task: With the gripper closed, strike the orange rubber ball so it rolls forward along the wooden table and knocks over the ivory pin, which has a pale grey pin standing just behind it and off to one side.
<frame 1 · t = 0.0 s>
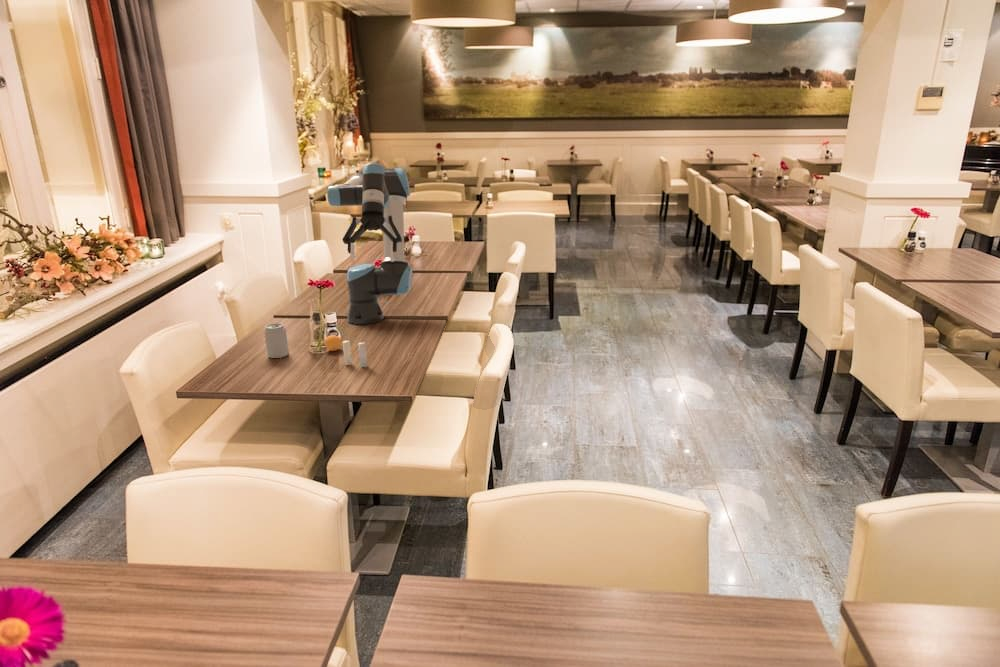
hand: (372, 261, 230), 36 cm above the table, tool tilted 35°, fingers open, 13 cm apart
ball: (333, 342, 251), on the table
pin 2: (363, 366, 235), on the table
can: (278, 356, 248), on the table
pin 1: (348, 364, 238), on the table
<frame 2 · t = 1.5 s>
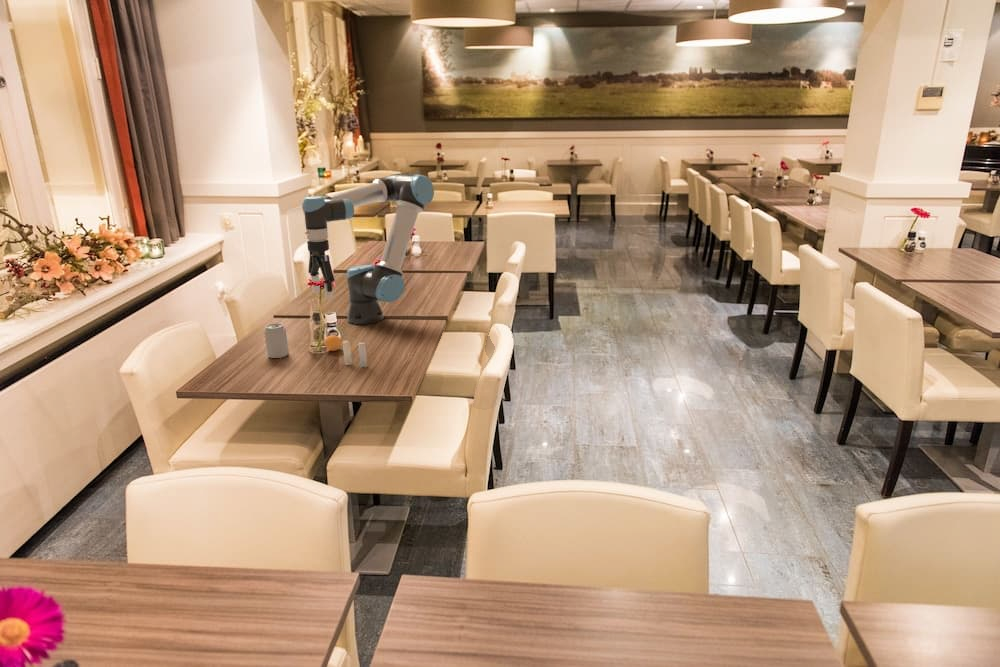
hand: (323, 296, 252), 19 cm above the table, tool pointing down, fingers open, 13 cm apart
nothing on the table moved.
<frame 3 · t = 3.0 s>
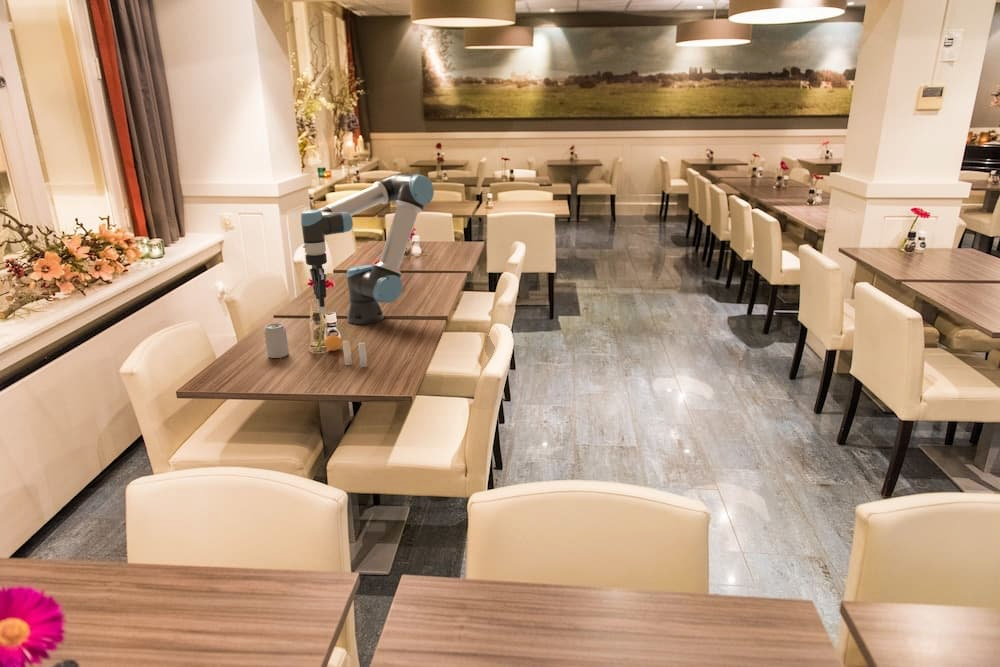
hand: (322, 314, 255), 12 cm above the table, tool pointing down, fingers closed
nothing on the table moved.
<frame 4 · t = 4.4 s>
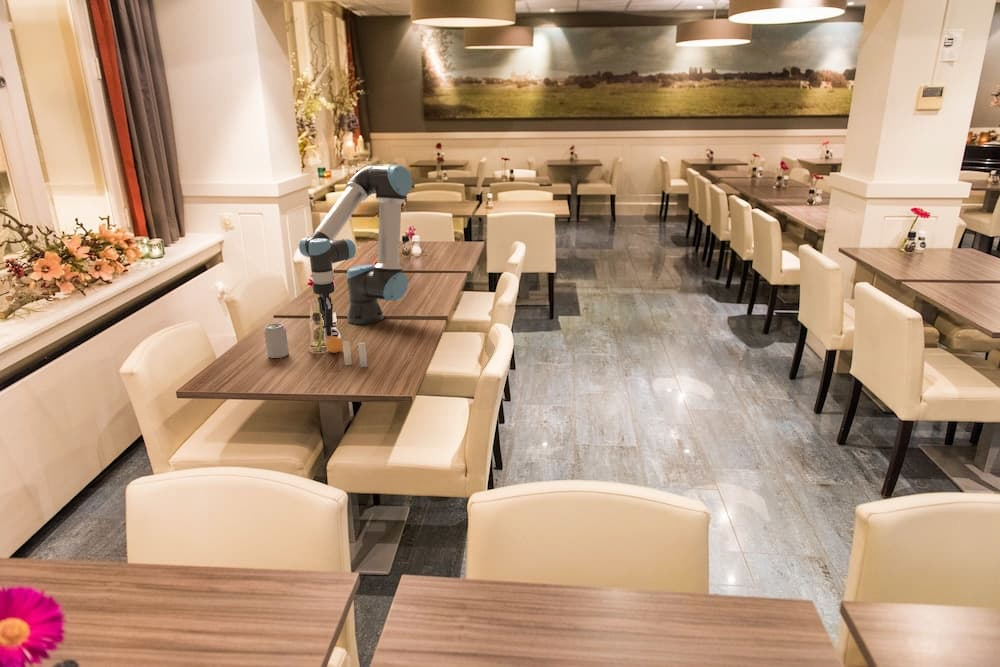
hand: (328, 343, 251), 3 cm above the table, tool pointing down, fingers closed
ball: (334, 344, 249), on the table, touching gripper
everything else where it was.
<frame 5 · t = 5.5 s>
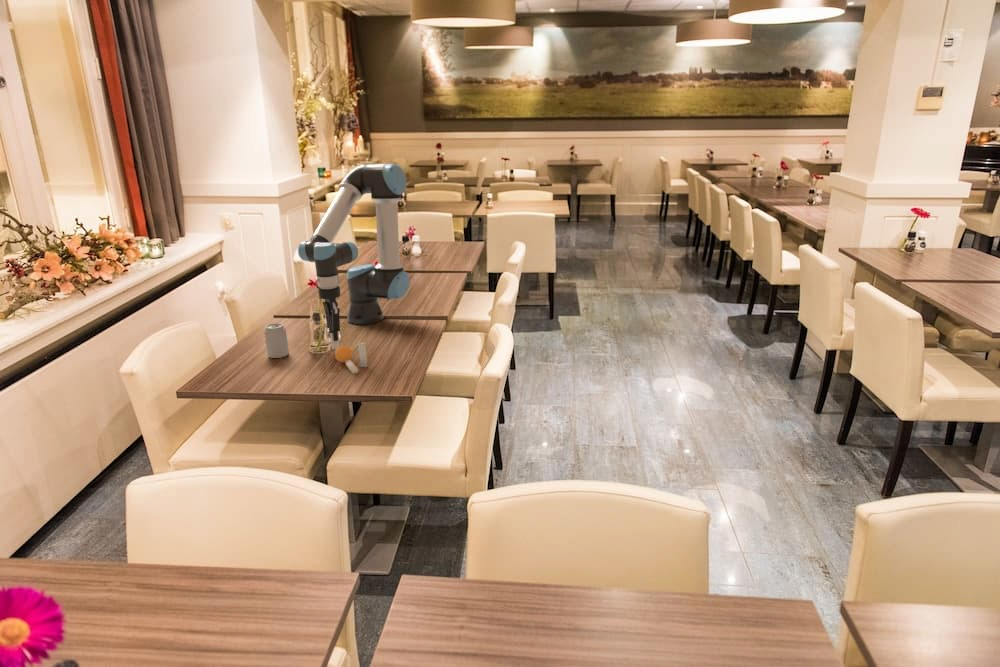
hand: (335, 347, 248), 2 cm above the table, tool pointing down, fingers closed
ball: (343, 354, 239), on the table
pin 1: (348, 362, 236), point 1 cm above the table, tilted 90°
everything else where it was.
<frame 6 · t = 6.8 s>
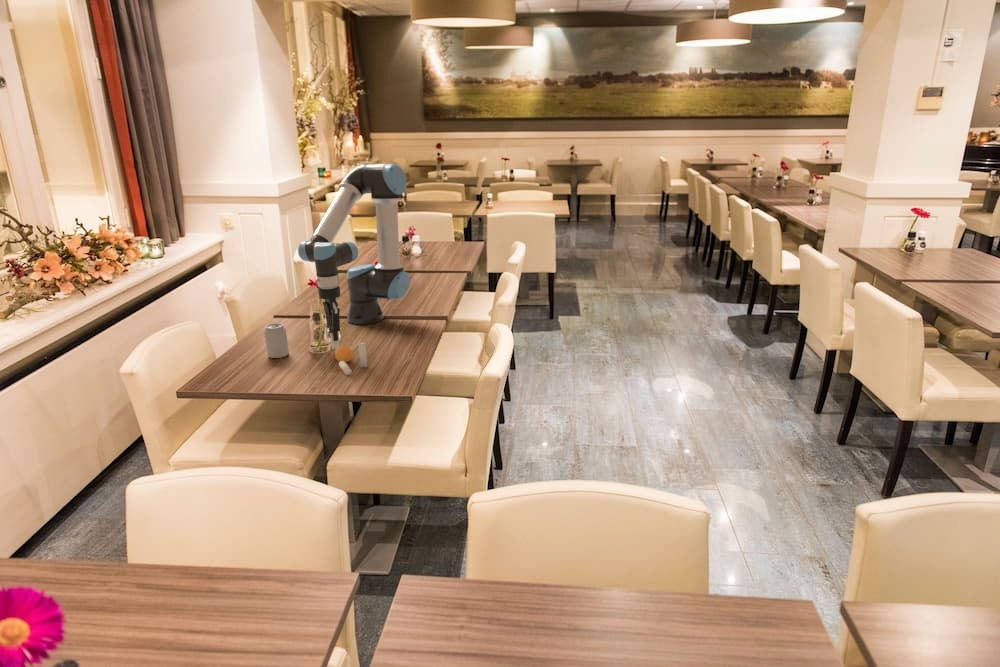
hand: (335, 347, 248), 2 cm above the table, tool pointing down, fingers closed
pin 1: (342, 363, 235), point 1 cm above the table, tilted 90°
everything else where it was.
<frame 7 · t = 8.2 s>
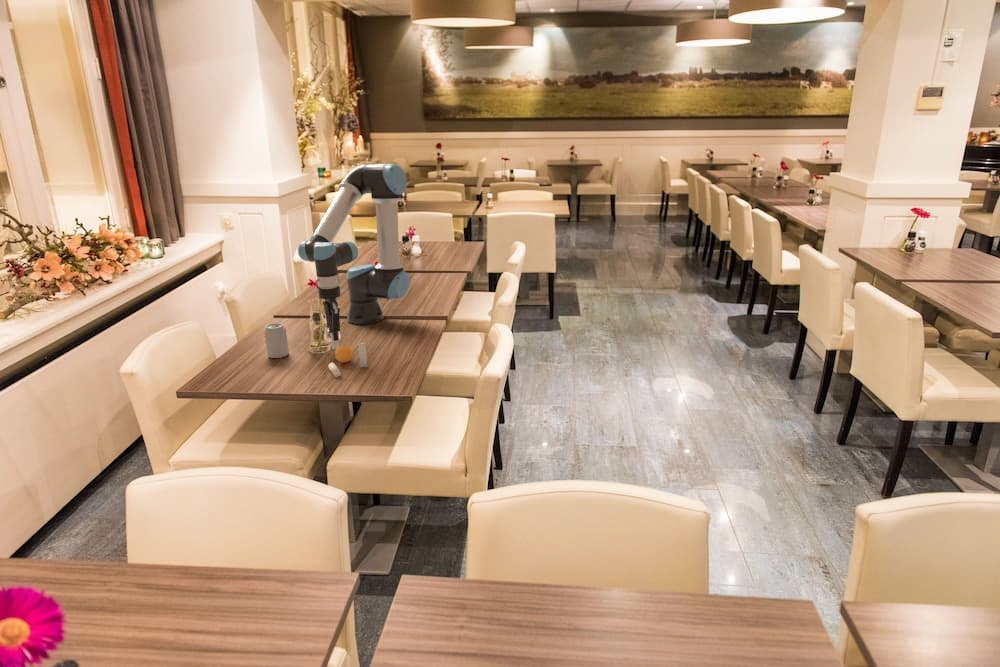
hand: (335, 347, 248), 2 cm above the table, tool pointing down, fingers closed
pin 1: (331, 365, 234), point 1 cm above the table, tilted 90°
everything else where it was.
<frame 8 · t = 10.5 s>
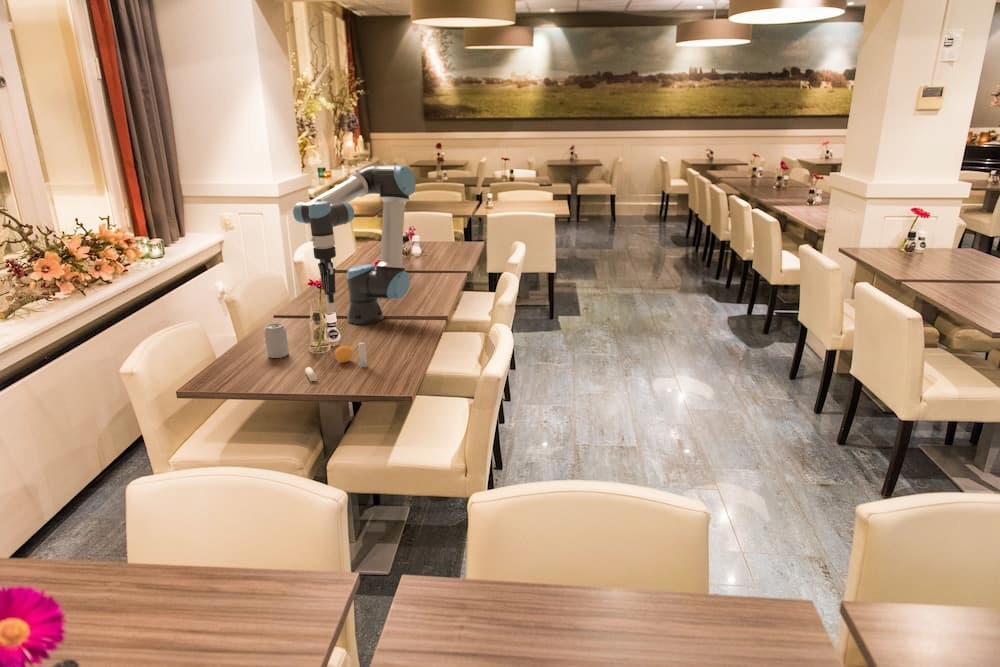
hand: (331, 310, 244), 16 cm above the table, tool pointing down, fingers closed
pin 1: (308, 370, 230), point 1 cm above the table, tilted 90°
everything else where it was.
at the end: pin 1 tilted 90°; pin 1 never touched the robot; ball moved 14.0 cm from its start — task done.
